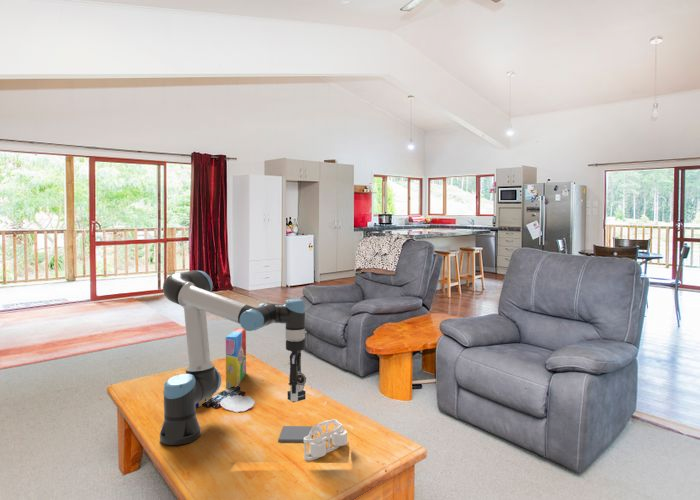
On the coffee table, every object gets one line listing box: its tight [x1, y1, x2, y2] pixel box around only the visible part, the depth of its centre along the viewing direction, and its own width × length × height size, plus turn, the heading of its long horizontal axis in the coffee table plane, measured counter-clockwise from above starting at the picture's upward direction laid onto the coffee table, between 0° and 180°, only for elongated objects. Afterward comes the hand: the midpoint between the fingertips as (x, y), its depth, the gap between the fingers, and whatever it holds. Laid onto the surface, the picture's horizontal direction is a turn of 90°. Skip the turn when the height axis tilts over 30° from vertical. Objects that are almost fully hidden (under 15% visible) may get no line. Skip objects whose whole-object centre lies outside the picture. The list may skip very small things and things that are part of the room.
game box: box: [225, 328, 247, 389], centre depth 241 cm, size 21×6×27 cm, turn 179°
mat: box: [277, 425, 314, 443], centre depth 180 cm, size 12×12×1 cm
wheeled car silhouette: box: [303, 418, 348, 461], centre depth 168 cm, size 20×11×7 cm, turn 138°
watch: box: [287, 371, 307, 403], centre depth 180 cm, size 6×8×11 cm
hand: (295, 397), depth 180 cm, fingers closed on watch, 8 cm apart
